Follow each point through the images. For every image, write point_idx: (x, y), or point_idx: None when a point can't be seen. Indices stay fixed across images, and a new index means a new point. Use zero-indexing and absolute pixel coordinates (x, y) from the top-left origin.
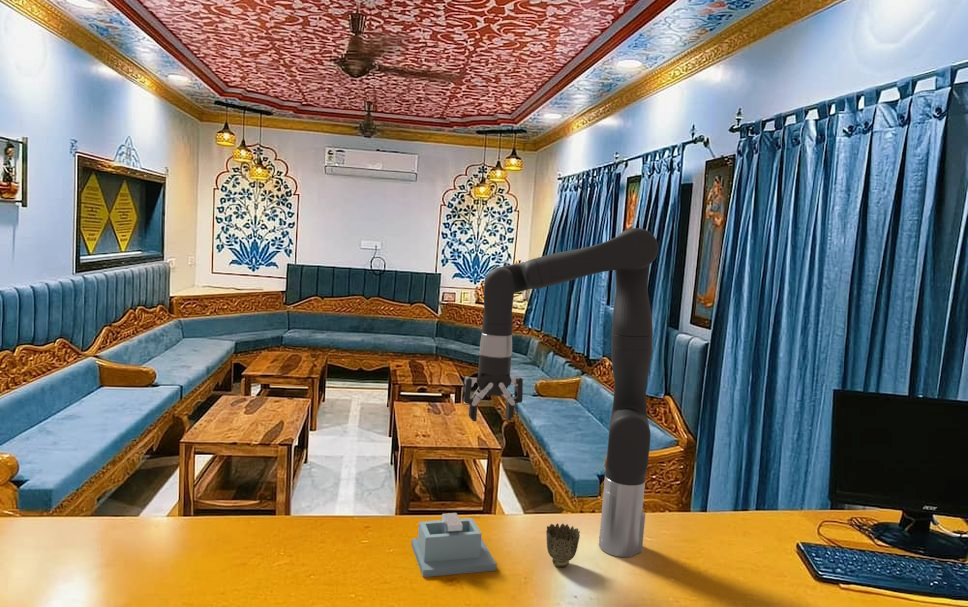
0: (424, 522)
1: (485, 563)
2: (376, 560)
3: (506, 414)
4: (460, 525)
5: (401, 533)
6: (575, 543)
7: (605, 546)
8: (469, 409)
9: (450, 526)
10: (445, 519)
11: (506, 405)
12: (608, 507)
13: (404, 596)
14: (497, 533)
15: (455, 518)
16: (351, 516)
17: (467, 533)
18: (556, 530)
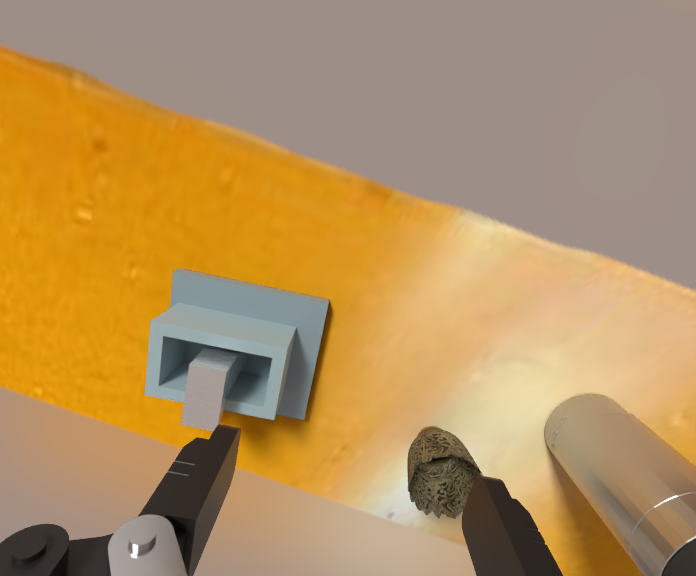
0: (162, 329)
1: (284, 411)
2: (95, 301)
3: (483, 515)
4: (212, 430)
5: (172, 209)
6: (450, 504)
7: (550, 441)
8: (158, 491)
9: (188, 424)
10: (186, 394)
11: (516, 572)
12: (603, 508)
13: (122, 423)
14: (385, 288)
15: (212, 398)
16: (67, 69)
17: (243, 409)
18: (451, 448)
